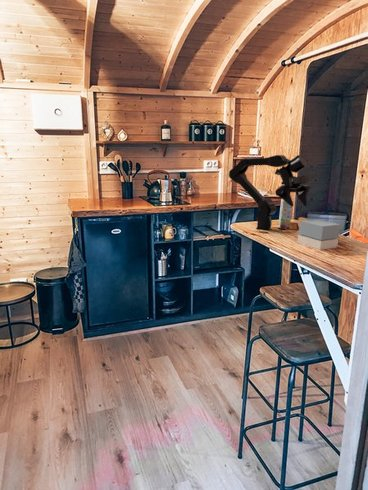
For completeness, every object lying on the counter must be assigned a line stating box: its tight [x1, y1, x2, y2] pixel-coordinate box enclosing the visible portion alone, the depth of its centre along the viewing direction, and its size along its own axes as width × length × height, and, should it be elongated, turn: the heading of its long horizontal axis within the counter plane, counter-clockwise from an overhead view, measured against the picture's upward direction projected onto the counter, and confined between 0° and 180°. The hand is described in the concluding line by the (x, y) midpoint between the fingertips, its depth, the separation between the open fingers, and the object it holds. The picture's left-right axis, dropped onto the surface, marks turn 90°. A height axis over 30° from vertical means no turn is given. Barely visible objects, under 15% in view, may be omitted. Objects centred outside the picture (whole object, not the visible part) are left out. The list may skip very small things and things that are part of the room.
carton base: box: [296, 234, 339, 251], centre depth 173 cm, size 13×11×4 cm
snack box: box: [278, 197, 294, 230], centre depth 212 cm, size 21×6×15 cm, turn 168°
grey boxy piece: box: [297, 217, 341, 240], centre depth 174 cm, size 18×11×6 cm, turn 30°
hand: (299, 205), depth 184 cm, fingers open, 9 cm apart
